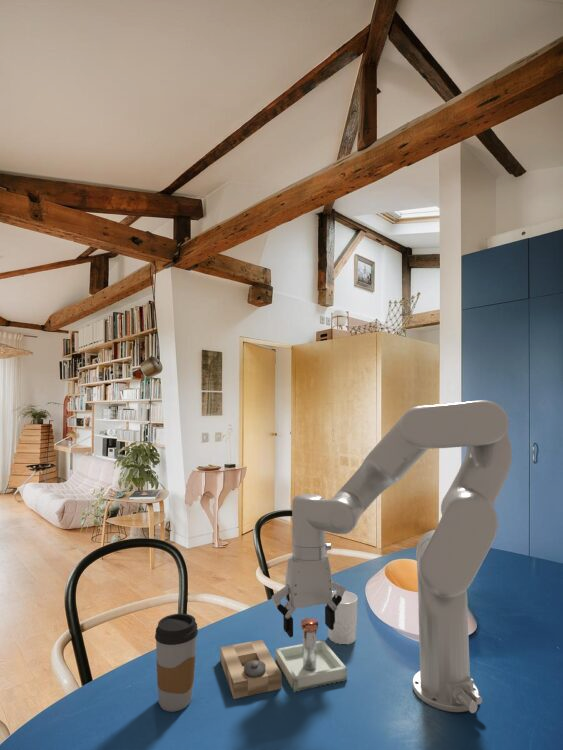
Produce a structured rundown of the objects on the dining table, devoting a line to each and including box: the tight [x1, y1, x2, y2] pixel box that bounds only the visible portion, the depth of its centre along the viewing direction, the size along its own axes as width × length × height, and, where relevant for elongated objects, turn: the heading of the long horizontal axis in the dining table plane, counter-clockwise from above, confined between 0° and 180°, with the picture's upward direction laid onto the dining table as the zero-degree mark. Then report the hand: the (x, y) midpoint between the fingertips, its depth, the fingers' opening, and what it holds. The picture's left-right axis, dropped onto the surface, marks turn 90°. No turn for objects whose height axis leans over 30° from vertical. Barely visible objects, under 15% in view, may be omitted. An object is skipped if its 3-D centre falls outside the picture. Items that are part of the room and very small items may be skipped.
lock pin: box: [300, 617, 319, 671], centre depth 96 cm, size 4×4×10 cm
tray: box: [275, 639, 348, 693], centre depth 96 cm, size 12×12×2 cm
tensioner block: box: [219, 639, 282, 700], centre depth 95 cm, size 14×10×5 cm
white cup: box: [327, 590, 358, 645], centre depth 110 cm, size 8×8×10 cm
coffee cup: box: [154, 613, 199, 712], centre depth 86 cm, size 8×8×15 cm
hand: (309, 630), depth 97 cm, fingers open, 9 cm apart
